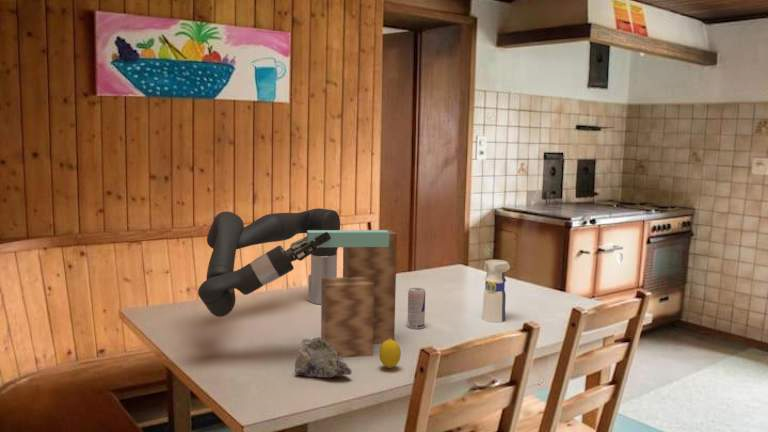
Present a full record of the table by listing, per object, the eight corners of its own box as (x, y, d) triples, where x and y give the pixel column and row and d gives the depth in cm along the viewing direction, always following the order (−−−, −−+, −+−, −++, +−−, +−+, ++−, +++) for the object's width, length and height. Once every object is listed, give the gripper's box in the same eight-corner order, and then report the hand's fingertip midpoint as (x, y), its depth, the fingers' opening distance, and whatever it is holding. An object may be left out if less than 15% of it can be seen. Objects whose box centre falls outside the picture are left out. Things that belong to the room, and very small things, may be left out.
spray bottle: (501, 324, 212) (505, 248, 208) (477, 319, 216) (480, 245, 213) (510, 318, 218) (514, 244, 215) (487, 314, 223) (490, 241, 220)
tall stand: (346, 345, 188) (348, 234, 184) (342, 336, 196) (343, 230, 191) (394, 342, 191) (396, 234, 187) (387, 334, 199) (390, 229, 195)
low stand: (325, 358, 177) (326, 285, 174) (321, 347, 186) (321, 278, 183) (372, 355, 180) (374, 284, 177) (366, 344, 189) (367, 276, 186)
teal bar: (308, 247, 174) (308, 232, 174) (306, 244, 178) (306, 230, 178) (388, 246, 179) (389, 232, 179) (385, 244, 183) (385, 230, 183)
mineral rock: (354, 380, 162) (354, 341, 160) (316, 390, 155) (317, 349, 154) (325, 365, 172) (326, 328, 171) (289, 373, 165) (289, 335, 164)
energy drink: (426, 325, 209) (427, 288, 207) (421, 330, 204) (422, 292, 202) (410, 323, 210) (411, 286, 209) (405, 328, 205) (406, 290, 204)
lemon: (378, 364, 173) (378, 335, 172) (399, 364, 173) (399, 335, 172) (379, 372, 167) (380, 342, 166) (401, 372, 168) (402, 342, 167)
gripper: (266, 258, 167) (325, 225, 169) (263, 248, 181) (317, 218, 183) (280, 283, 169) (338, 250, 171) (277, 271, 183) (330, 240, 185)
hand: (327, 233), depth 177 cm, fingers closed on teal bar, 4 cm apart
